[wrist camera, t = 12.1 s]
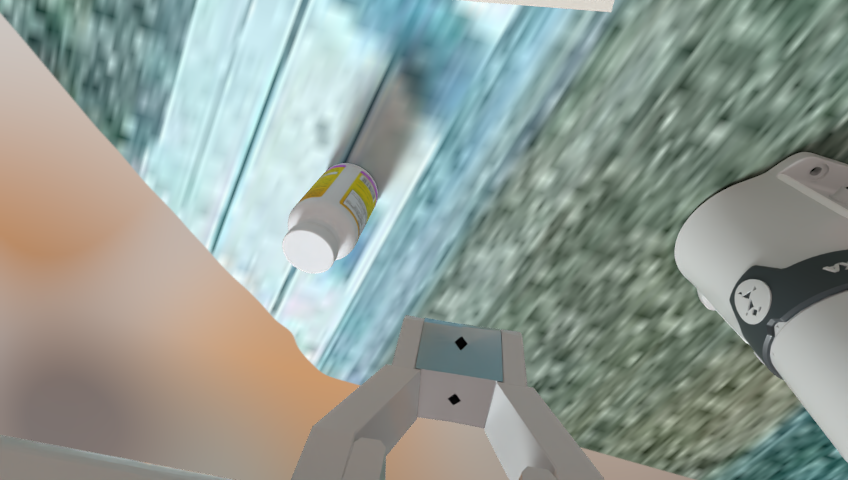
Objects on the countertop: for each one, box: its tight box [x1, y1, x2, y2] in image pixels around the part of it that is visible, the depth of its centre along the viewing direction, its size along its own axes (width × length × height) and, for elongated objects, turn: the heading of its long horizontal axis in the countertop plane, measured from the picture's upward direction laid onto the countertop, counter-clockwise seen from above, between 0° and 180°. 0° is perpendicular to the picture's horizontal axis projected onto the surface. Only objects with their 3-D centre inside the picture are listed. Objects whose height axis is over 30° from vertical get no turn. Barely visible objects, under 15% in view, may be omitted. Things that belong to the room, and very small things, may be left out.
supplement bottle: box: [282, 163, 378, 273], centre depth 38 cm, size 7×7×13 cm
